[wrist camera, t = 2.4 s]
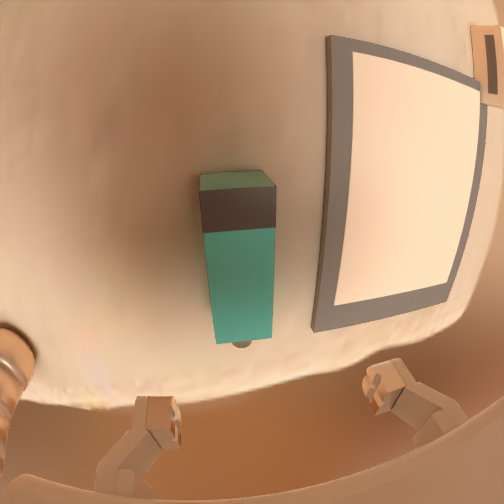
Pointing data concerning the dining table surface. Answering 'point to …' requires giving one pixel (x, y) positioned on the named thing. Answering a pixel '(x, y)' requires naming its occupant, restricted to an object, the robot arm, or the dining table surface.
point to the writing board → (394, 182)
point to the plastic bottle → (12, 380)
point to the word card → (489, 63)
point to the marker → (239, 253)
